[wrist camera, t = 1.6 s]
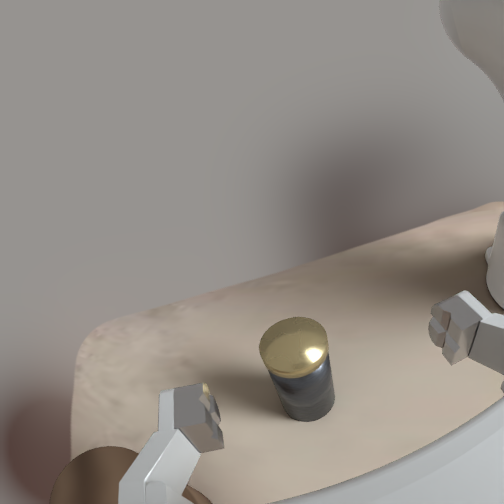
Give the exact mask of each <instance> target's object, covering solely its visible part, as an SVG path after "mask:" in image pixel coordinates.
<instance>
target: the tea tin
mask: <svg viewBox="0 0 504 504" xmlns="http://www.w3.org/2000/svg"><path fill="white" fill-rule="evenodd" d="M328 349H329V347H328V340H327V334H326V331H325V329H324V328H323V326H322V325H321V324H319V323H318V322H316V321H315V320H312V319H309V318H304V317H293V318H288V319H285V320H282V321H280V322H278V323H276V324H274V325H273V326H271V327H270V328H269V329H268V330H267V331H266V332H265V333H264V335H263V336H262V338H261V341H260V345H259V351H260V355H261V357H262V360H263V362H264V364H265V366H266V368H267V369H268V371H269V373H270V376H271V378H272V381H273V383H274V385H275V388H276V390H277V392H278V395H279V397H280V399H281V402H282V404H283V407H284V409H285V411H286V412H287V414H288V415H289V416H290V417H292V418H293V419H295V420H298V421H303V422H309V421H315V420H318V419H320V418H322V417H323V416H325V415H326V414H327V413H328V412H329V411H330V410H331V408H332V406H333V404H334V400H335V395H334V387H333V380H332V373H331V367H330V360H329V354H328Z"/></svg>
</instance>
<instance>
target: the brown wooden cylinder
mask: <svg viewBox="0 0 504 504" xmlns="http://www.w3.org/2000/svg"><path fill="white" fill-rule="evenodd" d="M138 455H139V454H138V453H136V452H134V451H132V450H129V449H126V448H122V447H114V446H107V447H99V448H95V449H92V450H89V451H87V452H84V453H82V454H81V455H79V456H78V457H76V458H75V459H73V460H72V461H71V462H70V463H69V464H68V465H67V466H66V467H65V468H64V469H63V471H62V472H61V473H60V475H59V477H58V478H57V480H56V482H55V484H54V487H53V490H52V493H51V497H50V504H118V497H119V482H120V480H121V479H122V478H123V476H124V475H125V473H126V472H127V470H128V469H129V468H130V466H131V465H132V463H133V462H134V460H135V459H136V458H137V456H138ZM181 496H183V497H184V498H186V499H188V500H189V501H191V502H192V503H194V504H212V503H211V502H210V500H209V499H208V498H206V497H205V496H204V495H203V494H201V493H200V492H199V491H197V490H195V489H194V488H192V487H190V486H188V485H186V487H185V489H184V491H183V493H182V495H181Z"/></svg>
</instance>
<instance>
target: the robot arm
mask: <svg viewBox="0 0 504 504" xmlns="http://www.w3.org/2000/svg"><path fill="white" fill-rule="evenodd" d="M439 10H440V17H441V21H442V24H443V27H444V29H445V31H446V33H447V35H448V36H449V39H450V40H451V41H452V43H453V44H454V45H455V47H456V48H457V49H458V50H459V51H460V52H461V53H462V54H463V55H464V56H465V57H466V58H468V59H469V60H471V61H472V62H473V63H474V64H476V65H477V66H478V67H479V68H480V69H481V70H482V71H483V72H484V73H485V74H486V75H487V76H488V77H489V79H490V80H491V81H492V83H493V84H494V85H495V87H496V88H497V90H498V92H499V93H500V95H501V97H502V98H503V101H504V0H440V3H439ZM485 258H486V261H487V264H488V270H487V275H486V281H487V286H488V289H489V291H490V293H491V295H492V297H493V298H494V299H495V301H496V302H497V303H498V304H499V305H500V306H501V307H502V308H503V309H504V212H502V213H501V215H500V218H499V222H498V226H497V230H496V234H495V239H494V243H493V246H492V247H489V248H488V249H487V250H486V254H485ZM431 314H432V316H433V318H432V319H431V321H430V322H429V328H428V330H429V335H430V338H431V340H432V342H433V343H434V344H435V345H436V346H438V347H441V348H442V354H443V356H444V357H445V358H446V359H447V361H448V362H449V363H450V364H451V365H453V364H455V363H457V362H459V361H461V360H463V359H465V358H466V357H468V356H469V357H468V358H470V359H472V360H474V361H476V362H478V363H481V364H483V365H485V366H487V367H489V368H491V369H493V370H495V371H497V372H499V373H501V374H503V375H504V315H501V314H498V313H493V314H492V313H491V312H489V311H488V310H487V309H486V308H485V307H484V306H483V305H482V304H481V303H480V302H479V301H478V300H477V299H476V298H475V297H474V296H472V295H471V294H470V293H469V292H468V291H465V290H464V291H462V292H460V293H458V294H456V295H454V296H451V297H449V298H447V299H445V300H443V301H441V302H439V303H437V304H435V305H433V307H432V309H431ZM501 390H502V391H503V392H504V381H503V383H502V385H501ZM220 421H221V419H220V413H219V409H218V406H217V403H216V401H215V399H214V397H213V396H212V395H209V388H208V386H207V385H206V383H199V384H194V385H189V386H184V387H178V388H173V389H168V390H162V391H161V392H160V394H159V412H158V432H154V433H153V434H152V436H151V437H150V439H149V440H148V442H147V443H146V445H145V446H144V447H143V449H142V450H141V452H140V453H139V455H138V456H137V458H136V459H135V460H134V462H133V463H132V465H131V466H130V468H129V469H128V470H127V472H126V473H125V475H124V476H123V478H122V479H121V480H120V482H119V497H118V504H194V503H192V502H191V501H189V500H188V499H186V498H184V497H183V496H181V495H182V493H183V491H184V489H185V487H186V485H187V483H188V480H189V478H190V476H191V474H192V472H193V470H194V468H195V466H196V464H197V462H198V459H199V457H200V455H201V454H200V453H204V452H209V451H214V450H219V449H223V448H224V441H223V434H222V431H221V429H220V428H219V426H218V425H219V423H220ZM267 504H504V396H503V397H502V398H501V399H499V400H498V401H497V402H495V403H494V404H492V405H491V406H490V407H488V408H487V409H485V410H484V411H482V412H481V413H479V414H478V415H476V416H475V417H473V418H472V419H470V420H469V421H467V422H466V423H464V424H462V425H461V426H459V427H458V428H456V429H454V430H453V431H451V432H449V433H447V434H446V435H444V436H442V437H441V438H439V439H437V440H435V441H433V442H432V443H430V444H428V445H426V446H424V447H422V448H420V449H418V450H416V451H414V452H412V453H410V454H408V455H406V456H404V457H402V458H400V459H398V460H396V461H393V462H391V463H389V464H387V465H384V466H382V467H380V468H377V469H375V470H373V471H370V472H368V473H365V474H363V475H360V476H358V477H355V478H352V479H350V480H347V481H344V482H341V483H338V484H335V485H332V486H329V487H326V488H323V489H320V490H317V491H314V492H310V493H307V494H303V495H300V496H296V497H292V498H288V499H284V500H280V501H276V502H272V503H267Z"/></svg>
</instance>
